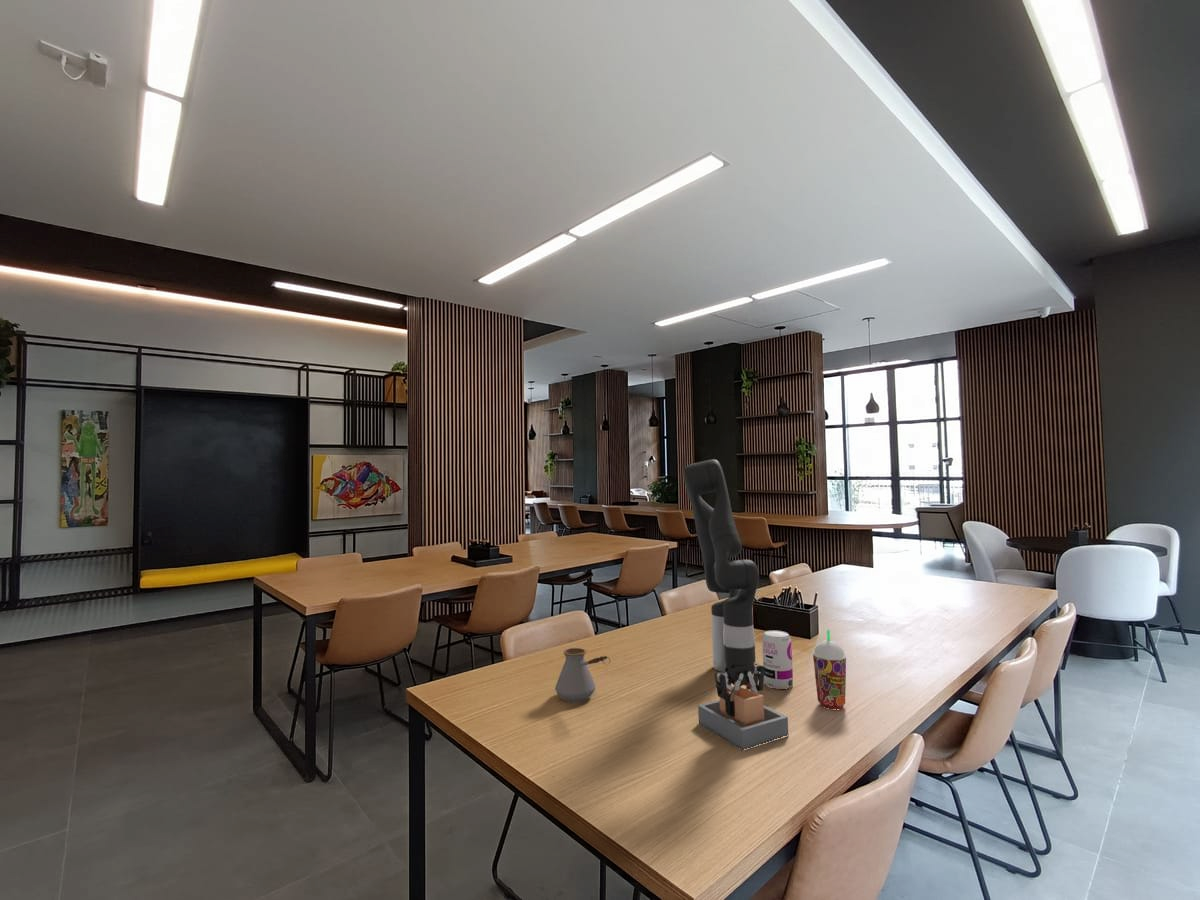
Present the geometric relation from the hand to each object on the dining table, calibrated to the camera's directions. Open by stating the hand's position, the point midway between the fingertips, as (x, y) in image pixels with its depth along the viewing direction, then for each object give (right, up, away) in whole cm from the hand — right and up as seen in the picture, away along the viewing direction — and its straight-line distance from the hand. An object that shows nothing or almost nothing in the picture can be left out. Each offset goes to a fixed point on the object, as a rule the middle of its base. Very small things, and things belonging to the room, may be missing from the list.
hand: (741, 712), depth 132 cm
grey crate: (0, -4, 0) cm, 4 cm away
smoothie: (+27, -5, +12) cm, 30 cm away
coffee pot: (-38, -6, +18) cm, 43 cm away
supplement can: (+18, -6, +28) cm, 34 cm away
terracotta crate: (0, -1, 0) cm, 1 cm away
